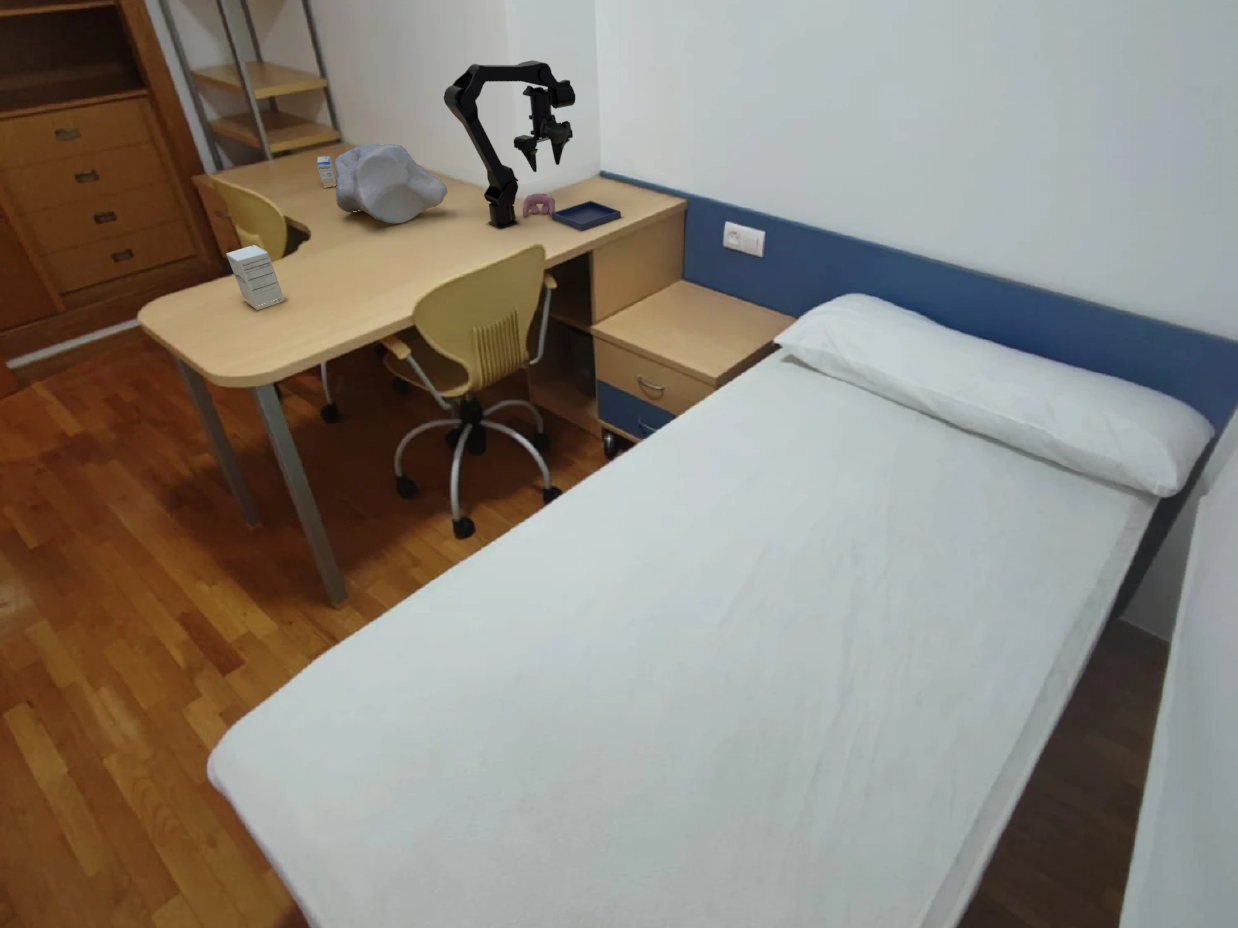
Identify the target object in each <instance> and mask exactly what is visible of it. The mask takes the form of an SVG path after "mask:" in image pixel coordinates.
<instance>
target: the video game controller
mask: <svg viewBox="0 0 1238 928" xmlns="http://www.w3.org/2000/svg"><path fill="white" fill-rule="evenodd" d="M538 205H541V207H540V208H539V206H538ZM555 208H556V199H555V198H554V197H553V196H552V195H550V194H547V193H541V192H540V193H539V192H538V193H533V194H528V195H527V196H526V197H525V198H524V200H523V206H522V215H523V217H524V218H526V217H528V214H529V211H531V213H533V214H538V213H539V211H540V212H542V213H543V214H544V215H547V214H548V213H549V216H550V217H551V218H552V213H553V212H556V209H555Z"/></svg>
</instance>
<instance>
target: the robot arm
mask: <svg viewBox="0 0 1238 928" xmlns="http://www.w3.org/2000/svg"><path fill="white" fill-rule="evenodd" d="M486 82H487V83H488V82H490V83H491V82H523V83H527V84H532V85H535V86H536V87H533V86H532V85H527V86H526V88H525V89H524V90H523V91H522V95H523V96H526V97H529V102H530V113H531V114H530V115H528V120H530V121H532V122H531V123H532V130H530V131H529V133H530V135H527V134H521V135H519V136H518V135H517V136H515V137H514V139H513V148H514V149H517V150H518V151H521V154H522V155H523V156H524V157H525V159H526V161H527V163H528V165H529V167H530V168H531V170H532V172H533V173H537V171H538V170H537V169H538V166H537V152H538V151H539V148H537V146H538V143H542V142H546V141H548V140H549V141H550V145H551V150H552V154H553V159H554V163H555V165H556V166H560V164H561V163H560V162H561V158H562V154H563V150H564V147H565V145H566V144H568V142H570V141H571V139H572V138H573V137H574V132H573V130H572V127H571V122H570V121H568V120H565V121H562V122H558V121H557V120H556V119H557V118H556V116H555V114H553V113H552V108H553V109H556V110H557V109H561V108H567V107H571V106H573V105H574V104H575V103H576V93H575V90H574V88H573V86H572V85H571V80H569V79H562V80H559V81H558V80H557V78H555V75H553V73H552V69H551V66H550V65H549V64H548V63H546V62H543V61H538V60H534V59H533V60H528V61H523V62H520V63H518V64H478V63H473V64H471V65H469V67H468V68H467V69H466V71H465V72H464V73H463V74H461V75H460V76H459V77H457V78H456V80H455V81H454V82H453V83H452V85H449V86H447V88H446V89H445V91H444V94H443V102H444V104H445V106H447V108H448V110H449V111H450V112H451V113H452V115H454V117H455V118H456V119H457V120H458V121H459V123H461V124H462V126H463V127H464V129H465V132H466V133H467V135H468V138H469V140H470V141H471V143H472V144H473V147H474V148H475V150H476V152H477V154H478V156H479V158H480V159H481V161H482V164H483V166H484V167H485V169H486V175H487V181H488V186H487V188H486V190H485V192H484V194H483V197H484V199H485V201H486V202H489V203H488V210H489V216H490V221H488V224H489V225H491V226H493V227H495V228H498V229H503V228H506V227H511V226H513V225H517V224H518V220H516V212H515V206H514V205H515V202H516V197H517V193H518V190H519V184H518V182H519V179H518V178H517V177H516V175H515V172H514V170H513V167H509V166H507V165H506V164H505V165H504V164H503V163H502V162H501V160H500V158H499V156H498V154H497V152H496V150H495V148H494V146H493V144H492V142H491V140H490V138H489V136H488V134H487V132H486V130H485V128H484V127H483V125H482V122H481V120H480V118H479V107H478V105H477V102H476V101H477V99H478V98H479V97H480V96H481V93H482V90H483V88H484V85H485V84H486ZM543 87H545V89H544V88H543Z"/></svg>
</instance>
